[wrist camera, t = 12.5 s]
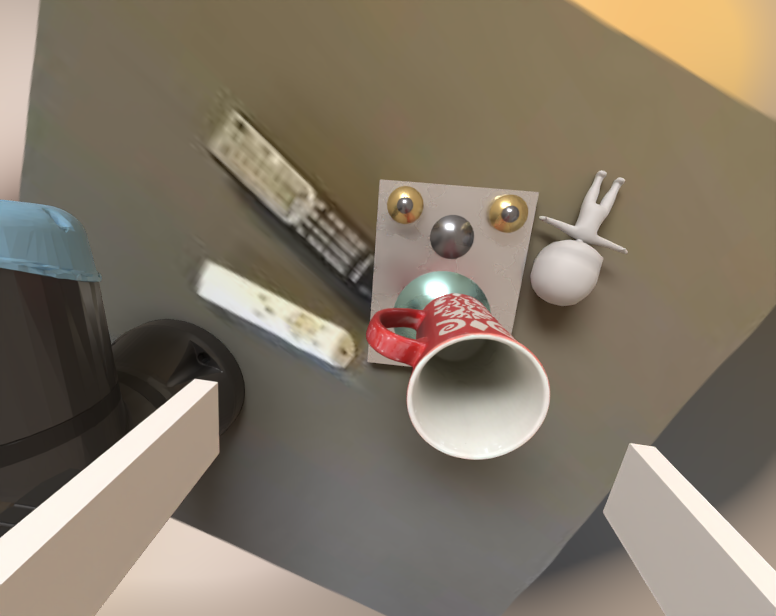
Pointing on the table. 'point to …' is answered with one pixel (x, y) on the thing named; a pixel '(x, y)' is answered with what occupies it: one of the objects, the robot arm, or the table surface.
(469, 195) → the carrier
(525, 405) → the mug
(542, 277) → the figurine
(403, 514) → the table surface
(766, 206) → the table surface
